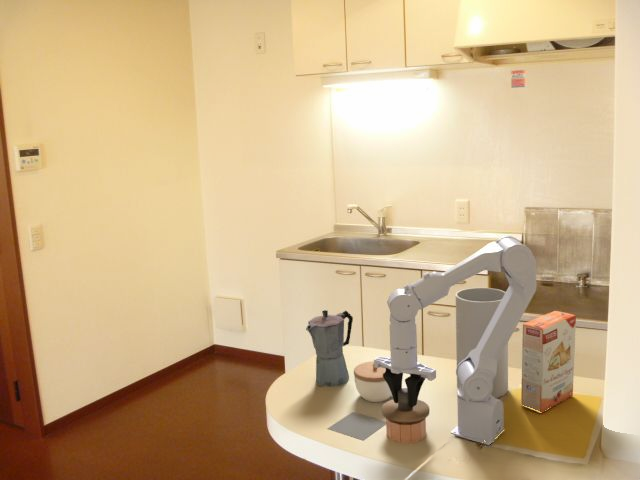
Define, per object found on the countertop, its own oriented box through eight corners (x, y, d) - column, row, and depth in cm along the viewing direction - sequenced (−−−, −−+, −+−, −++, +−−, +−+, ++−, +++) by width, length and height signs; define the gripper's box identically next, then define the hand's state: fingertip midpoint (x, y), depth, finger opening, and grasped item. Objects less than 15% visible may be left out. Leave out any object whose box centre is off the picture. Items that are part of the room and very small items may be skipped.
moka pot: (299, 384, 178) (295, 312, 174) (341, 367, 188) (337, 299, 184) (324, 394, 171) (319, 320, 167) (365, 376, 181) (362, 305, 177)
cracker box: (542, 415, 153) (543, 328, 149) (520, 407, 158) (520, 323, 154) (575, 396, 162) (577, 314, 158) (552, 389, 167) (554, 309, 163)
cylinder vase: (476, 375, 177) (475, 284, 172) (517, 389, 168) (518, 293, 163) (446, 390, 169) (445, 295, 164) (488, 405, 160) (488, 305, 155)
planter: (433, 431, 149) (432, 413, 148) (413, 448, 142) (412, 428, 141) (400, 422, 154) (399, 403, 153) (379, 437, 148) (378, 418, 147)
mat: (388, 424, 153) (388, 422, 153) (363, 442, 146) (363, 440, 146) (353, 413, 160) (353, 411, 159) (327, 430, 152) (327, 428, 152)
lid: (438, 408, 148) (437, 388, 147) (413, 427, 140) (412, 405, 139) (398, 397, 154) (397, 377, 153) (372, 414, 146) (371, 394, 145)
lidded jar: (396, 408, 161) (394, 372, 159) (352, 407, 163) (350, 370, 161) (399, 389, 171) (398, 355, 169) (358, 388, 173) (356, 354, 172)
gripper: (365, 344, 145) (367, 402, 148) (423, 357, 136) (425, 418, 139) (383, 335, 151) (385, 391, 153) (440, 346, 142) (441, 406, 144)
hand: (405, 403), depth 147 cm, fingers open, 3 cm apart
